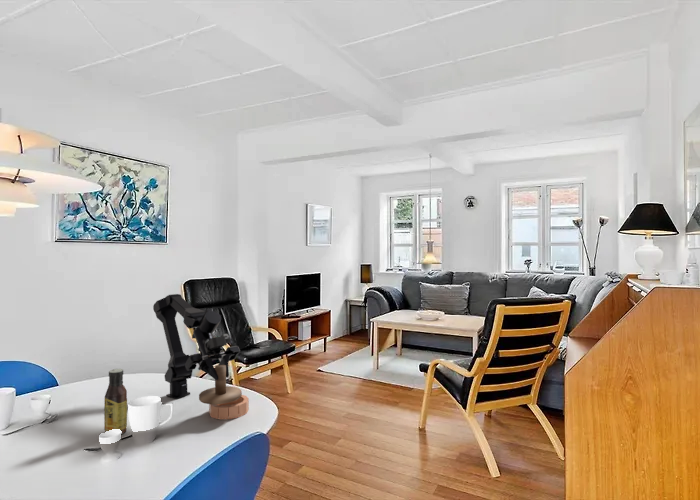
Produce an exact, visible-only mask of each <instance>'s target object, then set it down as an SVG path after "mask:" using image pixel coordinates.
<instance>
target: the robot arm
mask: <svg viewBox="0 0 700 500" xmlns="http://www.w3.org/2000/svg"><path fill="white" fill-rule="evenodd" d="M152 308H153V311H154V313H155V316H156V318H157V320H159V321H160V322H161V323H162V327H163V331H164V335H165V339H166V345H167V348H168V352H169V355H170V358H169V360H168V364H167V370H166V371H165V373H164V381H165V382H167V383H168V384H169V393H168V394H166V397H168V398H172V399H177V400H178V399H181V398H184V397H186V396H188V395H191V392H189V391H188V380H189V379H192V375H193V371H194V370H196V368H197V366H198V368H197V369H198V370H199V371H202V372H204V373H205V374H207V375H209V376H210V377H211V378H213V379H214V381H215V380H218V375H217V373H216V371H215V366H214V365H213V361H215V360H218V361H219V363H218V364H217V365H226V378H229V376H230V375H229V373H230V372H229V371H230V370H229V362H231V361H235V360H236V358H237V357H238V356H239V354H240V353H241V349H240V347H239V346H238V345H233V346H228V347H226V349H225V351H223V349H224V347H225V346H227V345H228V343H230V342H231V338H230V335H229V334H228V333H224V334H221V336H217V337H214V335H213V333H214V332H215V331H216V329H217V328H218V326H219V324H220V323H221V320H222V317H221V314H219V313H218V312H216V311H214V310H213V308H207V309H206V310H205V311H204V310H202V309H201V308H200V309H199V308H195V307H193V305H191V304H190V303H189V302H187V300H185V299H184V298H183V297H182V294H180V293H175V294H174V293H173V294H168V295H166V296H165V297H163V298H161V299H158V300H156V302H155V303H154V304H153V305H152ZM177 314H179V315H180V316H181V317H182V318H183V323H184V325H185V326H186V328H187V329H190V330H191V329H194V330H193V333H192V335H191V339H194V340H196V343H197V345H198V348H197V349H198V353H194V354H190V355H189V354H186V353H185V352H184V349H183V345H182V341H181V338H180V335H179V331H178V325H177V321H176V316H177ZM221 351H222V352H221ZM200 352H201V353H200ZM197 364H198V365H197Z"/></svg>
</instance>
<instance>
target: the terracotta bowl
mask: <svg viewBox="0 0 700 500" xmlns="http://www.w3.org/2000/svg"><path fill="white" fill-rule="evenodd" d="M249 401H250V400H249V397H248V396H247V395H244V394H242V396H241V397H240V398H239V399H237V400H235V401H233V402H229V403H224V404H208V408H209V409H208V412H209V413H208V415H209V416H210V418H212V419H216V420H233V419H236V418H240V417H243V416H245V415H247V413H248V412H249V410H250V407H249V406H250V405H249V404H250V403H249Z"/></svg>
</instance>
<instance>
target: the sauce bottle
mask: <svg viewBox="0 0 700 500" xmlns="http://www.w3.org/2000/svg"><path fill="white" fill-rule="evenodd" d="M108 379H109V380H108V382H109V383H108V387H107V389H106V392H105V394H104V406H103V408H104V413H103V414H104V417H103V418H104V422H103V423H104V427H103V428H104V429H103V430H104V433H105V432H106V431H109V430H112V429H120V430H121V431H122V434H121V435H123V434H125V432H127V425H128V397H127V396H128V395H127V393H128V392H127V390H128V389H126V387H125V385H124V384H123V383H124V381H123V379H124V369H123V368H114V369H111V370H109V371H108Z"/></svg>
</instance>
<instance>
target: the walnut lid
mask: <svg viewBox="0 0 700 500" xmlns="http://www.w3.org/2000/svg"><path fill="white" fill-rule="evenodd" d="M214 369H215V371H216V373H217V375H218V380H215V379H214V387H211V388H207V389H204V390H203V391H201V392H200V393H199V394H198V400H199V402H201V403H203V404H207V405H209V404H224V403H229V402H233V401H235V400H237V399H239V398H240V397H241V396H242V395H243V394H242V393H243V392H242V388H241V389H240V387H236V386H231V385H227V377H226V365H218V364H217V365H215V366H214Z"/></svg>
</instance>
